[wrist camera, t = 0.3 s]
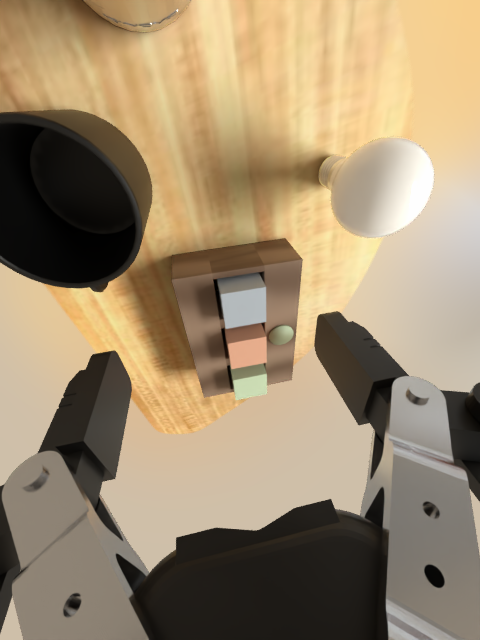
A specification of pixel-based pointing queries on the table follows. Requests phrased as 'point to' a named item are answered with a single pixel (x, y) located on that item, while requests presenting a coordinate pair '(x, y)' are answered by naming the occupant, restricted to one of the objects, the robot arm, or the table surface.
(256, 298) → the slate button
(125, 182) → the mug
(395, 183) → the lightbulb
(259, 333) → the terracotta button
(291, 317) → the console
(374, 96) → the table surface
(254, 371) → the sage button
